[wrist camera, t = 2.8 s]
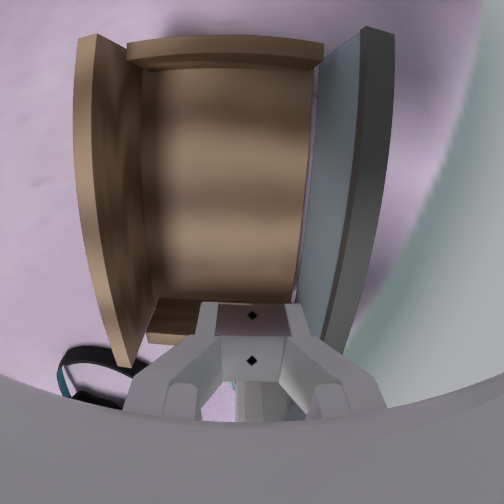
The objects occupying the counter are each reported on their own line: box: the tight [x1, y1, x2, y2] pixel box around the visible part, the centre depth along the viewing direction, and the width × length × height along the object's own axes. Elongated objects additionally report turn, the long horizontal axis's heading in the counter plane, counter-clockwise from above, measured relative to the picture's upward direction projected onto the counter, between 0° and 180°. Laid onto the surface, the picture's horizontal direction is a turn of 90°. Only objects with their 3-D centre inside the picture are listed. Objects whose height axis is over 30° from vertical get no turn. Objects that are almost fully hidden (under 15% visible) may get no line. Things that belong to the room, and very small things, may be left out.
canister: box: [228, 380, 306, 422], centre depth 19 cm, size 10×10×30 cm
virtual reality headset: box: [57, 346, 148, 410], centre depth 33 cm, size 19×22×10 cm
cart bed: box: [73, 34, 324, 368], centre depth 20 cm, size 22×14×11 cm, turn 177°
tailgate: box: [295, 26, 395, 355], centre depth 18 cm, size 22×2×9 cm, turn 177°
